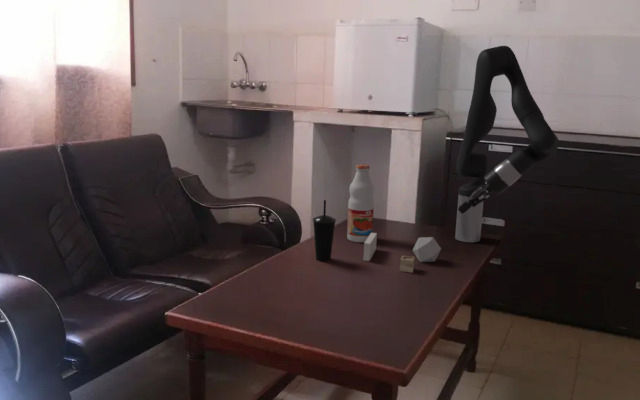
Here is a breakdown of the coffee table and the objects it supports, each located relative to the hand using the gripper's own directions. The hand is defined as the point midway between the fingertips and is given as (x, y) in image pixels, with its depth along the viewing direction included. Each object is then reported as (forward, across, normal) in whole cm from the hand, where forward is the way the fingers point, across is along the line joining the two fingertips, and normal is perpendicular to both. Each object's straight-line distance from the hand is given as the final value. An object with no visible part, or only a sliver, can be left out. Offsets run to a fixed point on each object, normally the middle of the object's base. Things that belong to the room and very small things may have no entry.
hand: (460, 210), depth 199 cm
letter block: (+23, +12, +2) cm, 26 cm away
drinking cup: (+43, +10, -18) cm, 48 cm away
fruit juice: (+38, -18, -13) cm, 44 cm away
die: (+20, 0, +6) cm, 21 cm away
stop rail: (+33, 0, -8) cm, 34 cm away
